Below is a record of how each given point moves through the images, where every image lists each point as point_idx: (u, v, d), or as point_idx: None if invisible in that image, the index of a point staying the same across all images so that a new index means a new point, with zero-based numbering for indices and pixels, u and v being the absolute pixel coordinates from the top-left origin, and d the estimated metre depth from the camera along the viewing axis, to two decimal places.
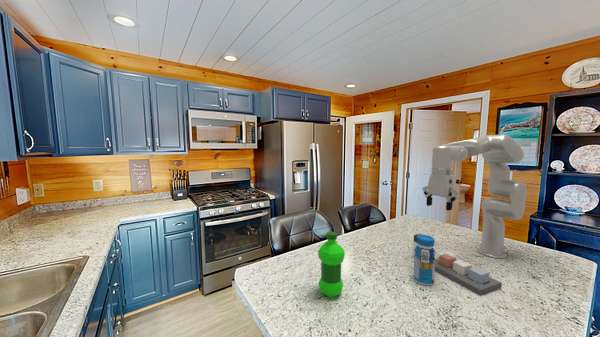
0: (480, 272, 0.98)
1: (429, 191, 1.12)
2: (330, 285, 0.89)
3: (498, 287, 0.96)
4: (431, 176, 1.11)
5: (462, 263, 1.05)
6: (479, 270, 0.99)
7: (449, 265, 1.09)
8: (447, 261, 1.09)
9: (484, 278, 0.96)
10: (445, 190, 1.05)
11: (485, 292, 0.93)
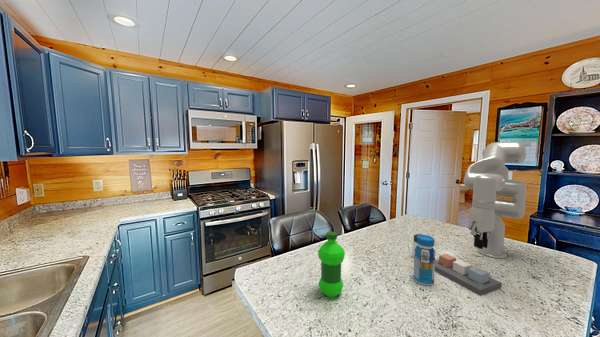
0: (480, 272, 0.98)
1: (481, 230, 0.94)
2: (330, 285, 0.89)
3: (498, 287, 0.96)
4: (484, 212, 0.93)
5: (462, 263, 1.05)
6: (479, 270, 0.99)
7: (449, 265, 1.09)
8: (447, 261, 1.09)
9: (484, 278, 0.96)
10: (494, 223, 0.96)
11: (485, 292, 0.93)
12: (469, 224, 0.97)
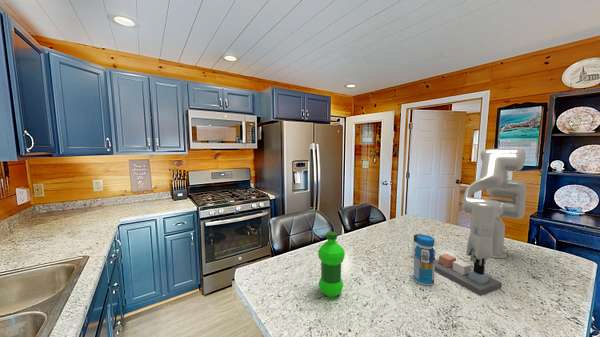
0: None
1: (479, 256, 0.95)
2: (330, 285, 0.89)
3: (498, 287, 0.96)
4: (482, 239, 0.94)
5: (462, 263, 1.05)
6: None
7: (449, 265, 1.09)
8: (447, 261, 1.09)
9: (484, 279, 0.96)
10: (492, 249, 0.97)
11: (485, 292, 0.93)
12: (467, 250, 0.98)
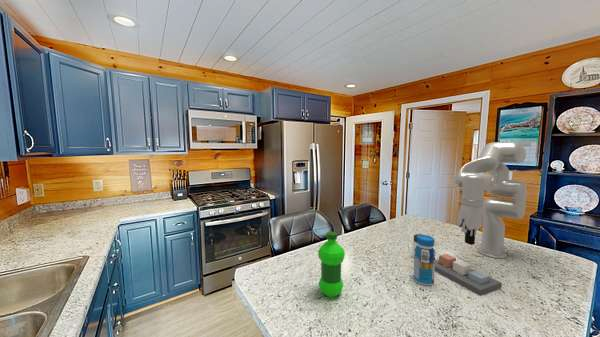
0: (480, 275, 0.98)
1: (470, 227, 0.98)
2: (330, 285, 0.89)
3: (498, 287, 0.96)
4: (473, 210, 0.97)
5: (462, 263, 1.05)
6: (479, 274, 0.99)
7: (449, 265, 1.09)
8: (447, 261, 1.09)
9: (484, 281, 0.97)
10: (482, 220, 1.01)
11: (485, 292, 0.93)
12: (459, 222, 1.01)
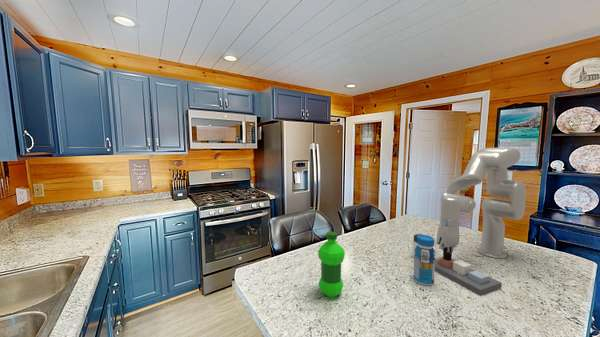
0: (480, 275, 0.98)
1: (447, 244, 1.08)
2: (330, 285, 0.89)
3: (498, 287, 0.96)
4: (449, 229, 1.07)
5: (462, 263, 1.05)
6: (479, 274, 0.99)
7: (449, 268, 1.09)
8: (447, 264, 1.09)
9: (484, 281, 0.97)
10: (458, 239, 1.10)
11: (485, 292, 0.93)
12: (437, 239, 1.11)
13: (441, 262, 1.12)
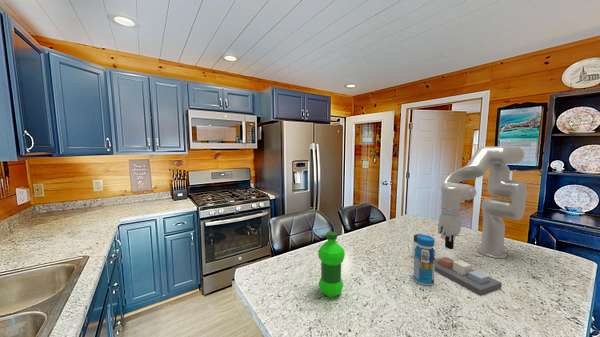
0: (480, 275, 0.98)
1: (448, 233, 1.08)
2: (330, 285, 0.89)
3: (498, 287, 0.96)
4: (450, 218, 1.07)
5: (462, 263, 1.05)
6: (479, 274, 0.99)
7: (449, 268, 1.09)
8: (447, 264, 1.09)
9: (484, 281, 0.97)
10: (460, 227, 1.10)
11: (485, 292, 0.93)
12: (438, 228, 1.11)
13: (441, 262, 1.12)
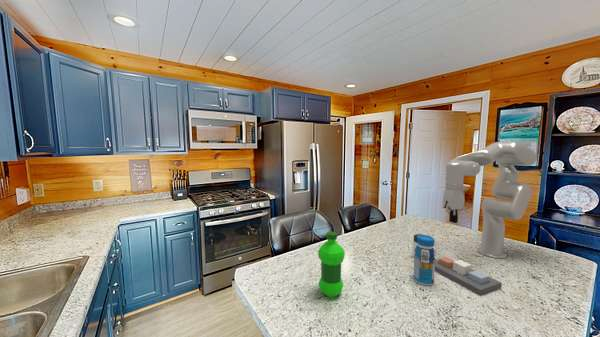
0: (480, 275, 0.98)
1: (453, 207, 1.13)
2: (330, 285, 0.89)
3: (498, 287, 0.96)
4: (454, 192, 1.13)
5: (462, 263, 1.05)
6: (479, 274, 0.99)
7: (449, 268, 1.09)
8: (447, 264, 1.09)
9: (484, 281, 0.97)
10: (463, 202, 1.16)
11: (485, 292, 0.93)
12: (443, 203, 1.16)
13: (441, 262, 1.12)
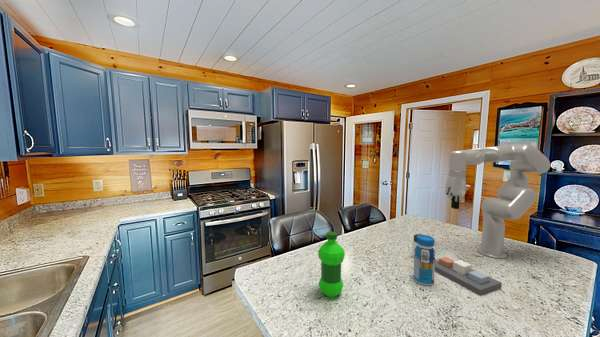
0: (480, 275, 0.98)
1: (455, 193, 1.19)
2: (330, 285, 0.89)
3: (498, 287, 0.96)
4: (457, 179, 1.18)
5: (462, 263, 1.05)
6: (479, 274, 0.99)
7: (449, 268, 1.09)
8: (447, 264, 1.09)
9: (484, 281, 0.97)
10: (465, 189, 1.22)
11: (485, 292, 0.93)
12: (446, 190, 1.22)
13: (441, 262, 1.12)
